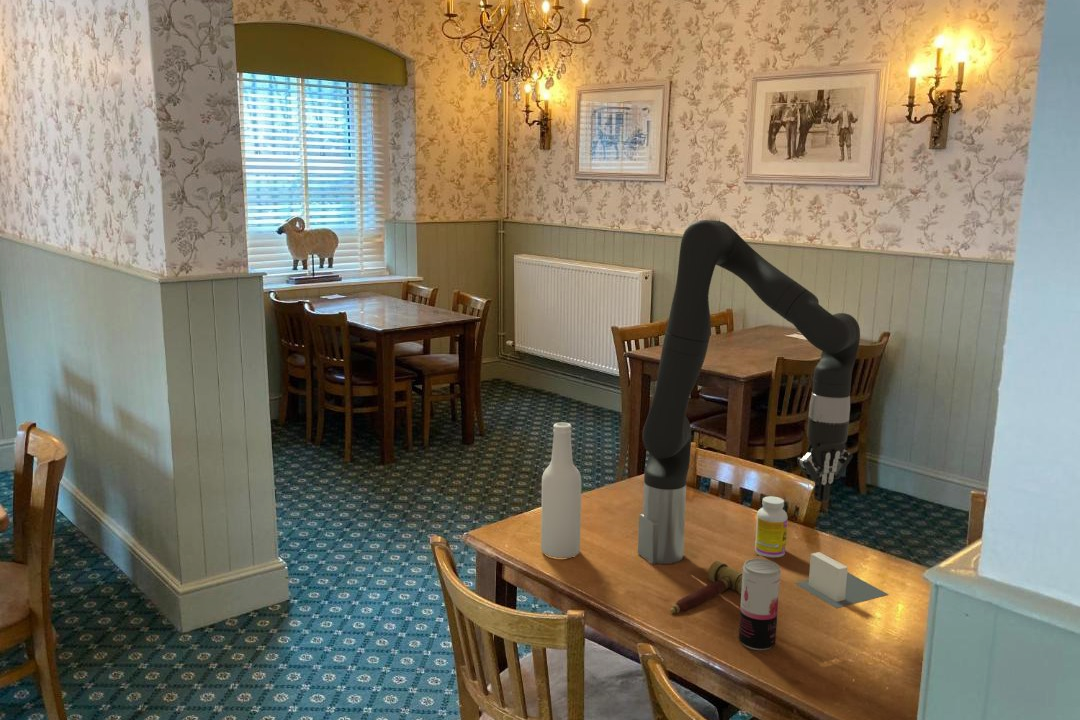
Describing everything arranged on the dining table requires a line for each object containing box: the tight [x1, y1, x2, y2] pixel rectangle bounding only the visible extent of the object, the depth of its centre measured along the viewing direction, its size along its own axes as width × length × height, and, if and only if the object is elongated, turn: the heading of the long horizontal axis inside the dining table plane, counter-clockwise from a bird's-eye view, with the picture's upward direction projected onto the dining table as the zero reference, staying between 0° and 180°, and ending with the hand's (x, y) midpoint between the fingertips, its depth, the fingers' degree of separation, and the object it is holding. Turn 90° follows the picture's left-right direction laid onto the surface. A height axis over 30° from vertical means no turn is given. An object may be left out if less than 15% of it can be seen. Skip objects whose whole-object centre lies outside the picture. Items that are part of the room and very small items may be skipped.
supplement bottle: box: [754, 495, 788, 558], centre depth 199 cm, size 7×7×13 cm
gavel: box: [669, 560, 743, 614], centre depth 179 cm, size 21×5×10 cm
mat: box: [794, 571, 890, 609], centre depth 183 cm, size 14×12×1 cm
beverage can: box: [738, 558, 781, 651], centre depth 161 cm, size 7×7×15 cm
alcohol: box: [540, 421, 582, 558], centre depth 197 cm, size 9×9×30 cm
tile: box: [808, 551, 848, 602], centre depth 180 cm, size 2×8×7 cm, turn 26°
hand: (821, 500), depth 176 cm, fingers closed
